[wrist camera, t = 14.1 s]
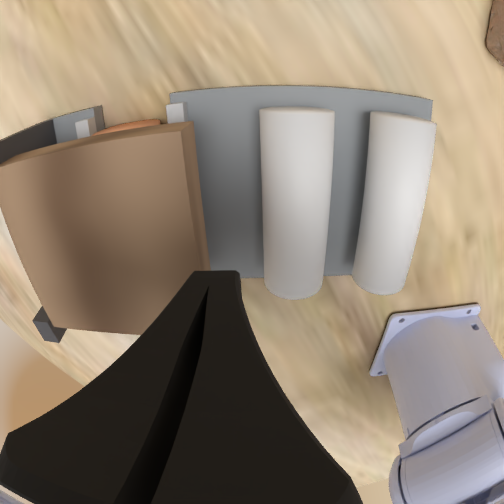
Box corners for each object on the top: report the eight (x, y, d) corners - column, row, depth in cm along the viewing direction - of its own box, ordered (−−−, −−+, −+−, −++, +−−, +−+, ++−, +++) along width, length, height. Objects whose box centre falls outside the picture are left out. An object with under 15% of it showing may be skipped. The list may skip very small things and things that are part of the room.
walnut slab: (193, 120, 10) (180, 131, 9) (216, 307, 15) (211, 337, 14) (15, 155, 11) (-11, 170, 9) (68, 303, 16) (54, 326, 14)
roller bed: (423, 98, 13) (506, 125, 8) (397, 263, 19) (438, 340, 14) (44, 121, 14) (-37, 158, 8) (85, 270, 20) (41, 339, 14)
